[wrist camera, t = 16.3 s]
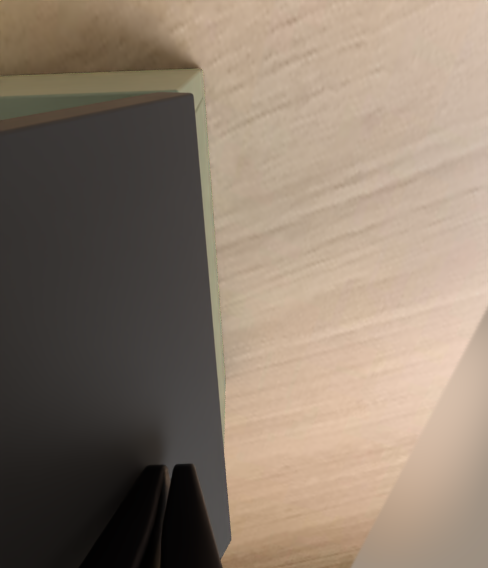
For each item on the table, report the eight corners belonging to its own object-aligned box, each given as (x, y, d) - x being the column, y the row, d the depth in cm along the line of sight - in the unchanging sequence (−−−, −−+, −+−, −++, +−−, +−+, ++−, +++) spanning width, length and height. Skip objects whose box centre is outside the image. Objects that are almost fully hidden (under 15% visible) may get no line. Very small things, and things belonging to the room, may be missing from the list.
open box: (-35, 392, 21) (-143, 534, 15) (-187, 82, 14) (-504, 114, 8) (225, 382, 21) (222, 520, 15) (202, 68, 14) (178, 88, 8)
